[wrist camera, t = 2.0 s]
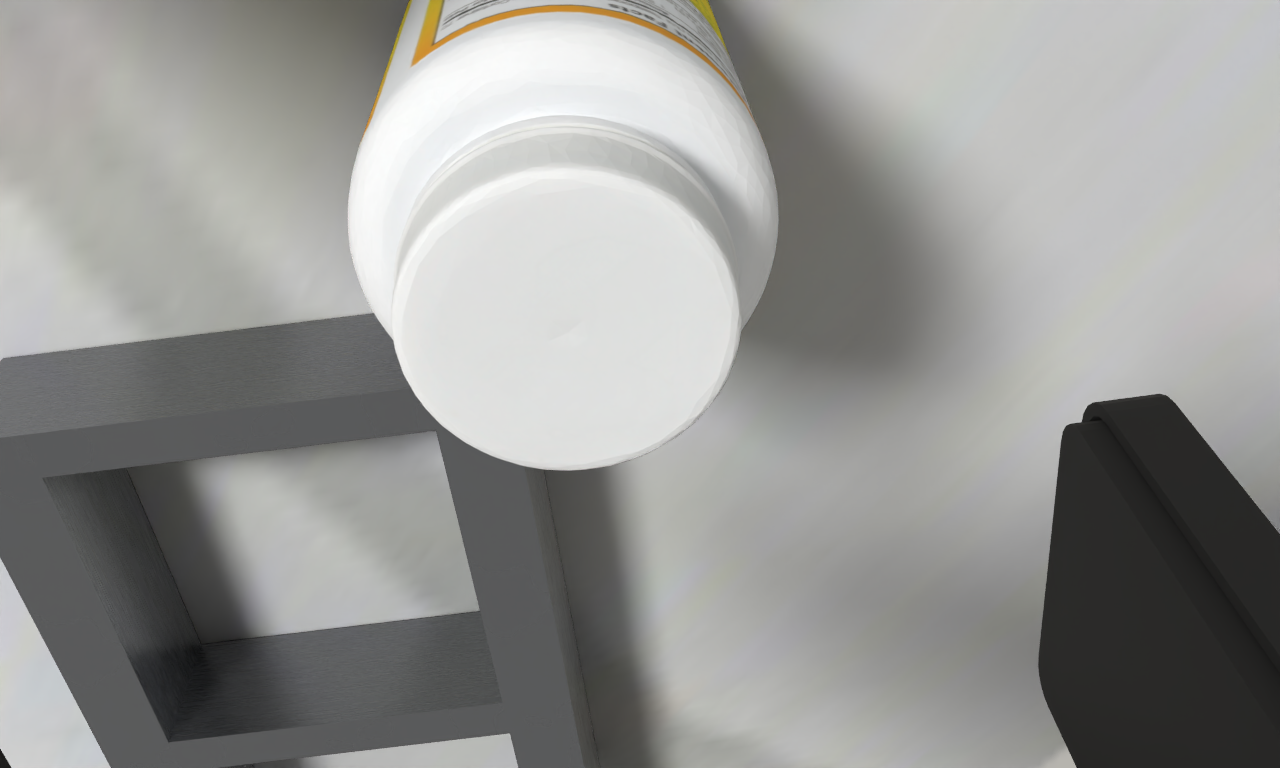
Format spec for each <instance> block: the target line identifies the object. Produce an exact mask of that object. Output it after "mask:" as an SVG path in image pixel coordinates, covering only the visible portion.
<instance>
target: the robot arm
mask: <svg viewBox="0 0 1280 768" xmlns="http://www.w3.org/2000/svg"><path fill="white" fill-rule="evenodd" d="M1038 666H1039V676H1040V681H1041V686H1042V690H1043V694H1044V697H1045V700H1046V702H1047V705H1048V707H1049V709H1050V711H1051V714H1052V716H1053V718H1054V720H1055V722H1056V724H1057V726H1058V728H1059V731H1060V733H1061V735H1062V737H1063V739H1064V741H1065V743H1066V746H1067V748H1068V750H1069V752H1070V754H1071V756H1072V758H1073V760H1074V763H1075V765H1076V767H1077V768H1280V534H1279V533H1278V531H1277V530H1276V529H1275V528H1274V526H1273V525H1272V524H1271V523H1270V521H1269V520H1268V519H1267V518H1266V516H1265V515H1264V514H1263V513H1262V511H1261V510H1260V509H1259V508H1258V506H1257V505H1256V504H1255V503H1254V501H1253V500H1252V499H1251V498H1250V496H1249V495H1248V494H1247V493H1246V491H1245V490H1244V489H1243V488H1242V486H1241V485H1240V484H1239V483H1238V481H1237V480H1236V479H1235V478H1234V476H1233V475H1232V474H1231V473H1230V471H1229V470H1228V469H1227V468H1226V466H1225V465H1224V464H1223V463H1222V461H1221V460H1220V459H1219V458H1218V456H1217V455H1216V454H1215V453H1214V451H1213V450H1212V449H1211V448H1210V446H1209V445H1208V444H1207V443H1206V441H1205V440H1204V439H1203V438H1202V436H1201V435H1200V434H1199V433H1198V431H1197V430H1196V429H1195V428H1194V426H1193V425H1192V424H1191V423H1190V421H1189V420H1188V419H1187V418H1186V416H1185V415H1184V414H1183V413H1182V411H1181V410H1180V409H1179V407H1178V406H1177V405H1176V404H1175V403H1174V402H1173V401H1172V400H1171V399H1170V398H1169V397H1168V396H1166V395H1162V394H1155V395H1147V396H1140V397H1132V398H1125V399H1117V400H1109V401H1102V402H1094V403H1092V404H1090V405H1088V406H1087V408H1086V410H1085V412H1084V414H1083V419H1082V422H1081V423H1073V424H1069V425H1067V426H1066V427H1065V429H1064V431H1063V435H1062V440H1061V448H1060V458H1059V467H1058V477H1057V486H1056V496H1055V506H1054V515H1053V525H1052V534H1051V544H1050V553H1049V563H1048V572H1047V582H1046V591H1045V601H1044V610H1043V620H1042V629H1041V639H1040V648H1039V662H1038ZM0 768H11V766H10V765H9V763H8V761H7V760H6V758H5V756H4V754H3V753H2V751H1V749H0Z"/></svg>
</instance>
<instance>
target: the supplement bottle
mask: <svg viewBox="0 0 1280 768" xmlns="http://www.w3.org/2000/svg"><path fill="white" fill-rule="evenodd" d="M778 224H779V216H778V198H777V190H776V185H775V179H774V174H773V171H772V167H771V163H770V160H769V157H768V153H767V150H766V147H765V144H764V142H763V139H762V136H761V134H760V131H759V129H758V127H757V124H756V122H755V120H754V117H753V114H752V112H751V109H750V107H749V104H748V102H747V99H746V97H745V94H744V91H743V89H742V86H741V84H740V81H739V78H738V76H737V74H736V71H735V69H734V66H733V64H732V61H731V59H730V56H729V53H728V51H727V48H726V46H725V43H724V41H723V38H722V35H721V33H720V30H719V27H718V25H717V22H716V20H715V17H714V15H713V12H712V10H711V7H710V4H709V1H708V0H409V2H408V4H407V8H406V10H405V14H404V16H403V19H402V23H401V25H400V28H399V31H398V34H397V38H396V40H395V43H394V46H393V50H392V53H391V55H390V59H389V62H388V65H387V67H386V70H385V73H384V76H383V79H382V82H381V85H380V88H379V91H378V94H377V97H376V100H375V103H374V105H373V108H372V111H371V114H370V117H369V120H368V123H367V125H366V128H365V131H364V134H363V137H362V140H361V143H360V146H359V149H358V153H357V156H356V160H355V164H354V167H353V172H352V177H351V184H350V191H349V198H348V234H349V244H350V251H351V255H352V260H353V264H354V268H355V271H356V274H357V277H358V280H359V283H360V285H361V288H362V290H363V293H364V295H365V297H366V299H367V301H368V304H369V306H370V308H371V310H372V311H373V313H374V314H375V316H376V317H377V319H378V320H379V322H380V323H381V325H382V326H383V327H384V329H385V330H386V332H387V333H388V334H389V335H390V337H391V338H392V339H393V341H394V347H395V351H396V354H397V357H398V360H399V363H400V366H401V369H402V372H403V374H404V376H405V378H406V380H407V381H408V383H409V385H410V387H411V388H412V390H413V392H414V393H415V395H416V397H417V398H418V399H419V400H420V402H421V403H422V404H423V406H424V407H425V409H426V410H427V411H428V412H429V413H430V414H431V415H432V416H433V417H434V418H435V419H436V420H437V421H438V422H439V423H440V424H441V425H442V426H443V427H444V428H446V429H447V430H448V431H450V432H451V433H452V434H454V435H455V436H457V437H458V438H459V439H461V440H462V441H464V442H465V443H467V444H469V445H471V446H472V447H474V448H476V449H478V450H480V451H482V452H484V453H486V454H489V455H491V456H493V457H496V458H499V459H502V460H505V461H508V462H512V463H515V464H518V465H522V466H526V467H532V468H538V469H546V470H586V469H593V468H600V467H606V466H612V465H615V464H619V463H622V462H625V461H629V460H632V459H634V458H637V457H640V456H642V455H645V454H647V453H649V452H651V451H653V450H655V449H657V448H658V447H660V446H662V445H664V444H666V443H667V442H669V441H671V440H672V439H674V438H676V437H677V436H678V435H680V434H681V433H682V432H684V431H685V430H686V429H687V428H689V427H690V426H691V425H692V424H694V423H695V422H696V421H697V420H698V419H699V417H700V416H701V415H702V414H703V413H704V412H705V411H706V410H707V409H708V407H709V406H710V405H711V403H712V402H713V401H714V400H715V398H716V397H717V396H718V394H719V393H720V391H721V389H722V388H723V386H724V384H725V382H726V380H727V379H728V376H729V374H730V371H731V369H732V366H733V364H734V361H735V358H736V355H737V352H738V347H739V342H740V337H741V330H742V329H743V328H744V326H745V325H746V323H747V322H748V320H749V319H750V317H751V315H752V314H753V312H754V310H755V308H756V306H757V304H758V302H759V300H760V298H761V296H762V294H763V292H764V289H765V287H766V284H767V281H768V278H769V275H770V272H771V268H772V264H773V260H774V256H775V251H776V245H777V238H778Z"/></svg>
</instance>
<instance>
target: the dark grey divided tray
mask: <svg viewBox="0 0 1280 768" xmlns="http://www.w3.org/2000/svg"><path fill="white" fill-rule="evenodd" d="M435 430H436V432H437V436H438V440H439V444H440V449H441V453H442V457H443V461H444V465H445V469H446V473H447V477H448V481H449V485H450V489H451V494H452V498H453V502H454V506H455V510H456V514H457V518H458V522H459V526H460V530H461V534H462V539H463V543H464V547H465V551H466V555H467V559H468V563H469V567H470V571H471V575H472V579H473V584H474V588H475V592H476V596H477V600H478V604H479V608H480V611H479V612H471V613H462V614H454V615H446V616H437V617H429V618H420V619H412V620H403V621H395V622H387V623H378V624H370V625H361V626H353V627H345V628H336V629H328V630H319V631H311V632H303V633H294V634H286V635H277V636H269V637H260V638H252V639H244V640H235V641H227V642H218V643H210V644H202V645H201V643H200V641H199V638H198V636H197V634H196V631H195V629H194V627H193V624H192V622H191V620H190V617H189V615H188V613H187V610H186V608H185V606H184V603H183V601H182V599H181V596H180V594H179V592H178V589H177V587H176V585H175V582H174V580H173V578H172V575H171V573H170V571H169V568H168V566H167V564H166V561H165V559H164V557H163V554H162V552H161V550H160V547H159V545H158V542H157V540H156V538H155V535H154V533H153V531H152V528H151V526H150V524H149V521H148V519H147V517H146V514H145V512H144V510H143V507H142V505H141V503H140V500H139V498H138V496H137V493H136V491H135V489H134V486H133V484H132V482H131V479H130V477H129V475H128V472H127V470H126V468H128V467H136V466H144V465H153V464H161V463H169V462H178V461H186V460H194V459H202V458H211V457H219V456H227V455H236V454H244V453H252V452H261V451H269V450H277V449H286V448H294V447H302V446H311V445H319V444H327V443H335V442H344V441H352V440H360V439H369V438H377V437H385V436H394V435H402V434H410V433H419V432H427V431H435ZM0 558H1V560H2V562H3V563H4V565H5V567H6V569H7V571H8V573H9V575H10V577H11V579H12V581H13V582H14V584H15V586H16V588H17V590H18V592H19V594H20V596H21V598H22V600H23V601H24V603H25V605H26V607H27V609H28V611H29V613H30V615H31V617H32V619H33V620H34V622H35V624H36V626H37V628H38V630H39V632H40V634H41V636H42V638H43V639H44V641H45V643H46V645H47V647H48V649H49V651H50V653H51V655H52V657H53V658H54V660H55V662H56V664H57V666H58V668H59V670H60V672H61V674H62V676H63V677H64V679H65V681H66V683H67V685H68V687H69V689H70V691H71V693H72V695H73V697H74V698H75V700H76V702H77V704H78V706H79V708H80V710H81V712H82V714H83V716H84V717H85V719H86V721H87V723H88V725H89V727H90V729H91V731H92V733H93V735H94V736H95V738H96V740H97V742H98V744H99V746H100V748H101V750H102V752H103V754H104V755H105V757H106V759H107V761H108V763H109V765H110V767H111V768H254V767H253V765H252V764H253V763H261V762H270V761H278V760H287V759H295V758H304V757H312V756H321V755H329V754H338V753H346V752H355V751H363V750H372V749H380V748H389V747H397V746H406V745H414V744H423V743H431V742H440V741H448V740H457V739H465V738H473V737H482V736H490V735H499V734H507V733H510V735H511V739H512V743H513V747H514V751H515V755H516V759H517V764H518V768H600V766H599V760H598V755H597V750H596V744H595V739H594V734H593V728H592V723H591V718H590V712H589V707H588V702H587V697H586V691H585V686H584V681H583V675H582V670H581V665H580V659H579V654H578V649H577V643H576V638H575V633H574V627H573V622H572V617H571V611H570V606H569V601H568V596H567V590H566V585H565V580H564V574H563V569H562V564H561V558H560V553H559V548H558V542H557V537H556V532H555V526H554V521H553V516H552V511H551V505H550V500H549V495H548V489H547V484H546V479H545V473H544V469H538V468H532V467H526V466H522V465H518V464H515V463H512V462H508V461H505V460H502V459H499V458H496V457H493V456H491V455H489V454H486V453H484V452H482V451H480V450H478V449H476V448H474V447H472V446H471V445H469V444H467V443H465V442H464V441H462V440H461V439H459V438H458V437H457V436H455V435H454V434H452V433H451V432H450V431H448V430H447V429H446V428H444V427H443V426H442V425H441V424H440V423H439V422H438V421H437V420H436V419H435V418H434V417H433V416H432V415H431V414H430V413H429V412H428V411H427V410H426V409H425V407H424V406H423V404H422V403H421V402H420V400H419V399H418V398H417V397H416V395H415V393H414V392H413V390H412V388H411V387H410V385H409V383H408V381H407V380H406V378H405V376H404V374H403V372H402V369H401V366H400V363H399V360H398V357H397V354H396V351H395V347H394V341H393V339H392V338H391V337H390V335H389V334H388V333H387V332H386V330H385V329H384V327H383V326H382V325H381V323H380V322H379V320H378V319H377V317H376V316H375V314H374V313H373V314H365V315H357V316H348V317H340V318H332V319H324V320H316V321H307V322H299V323H291V324H283V325H274V326H266V327H258V328H250V329H241V330H233V331H225V332H217V333H208V334H200V335H192V336H184V337H175V338H167V339H159V340H151V341H142V342H134V343H126V344H118V345H109V346H101V347H93V348H85V349H77V350H68V351H60V352H52V353H44V354H35V355H27V356H19V357H11V358H3V359H2V360H1V362H0Z"/></svg>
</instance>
